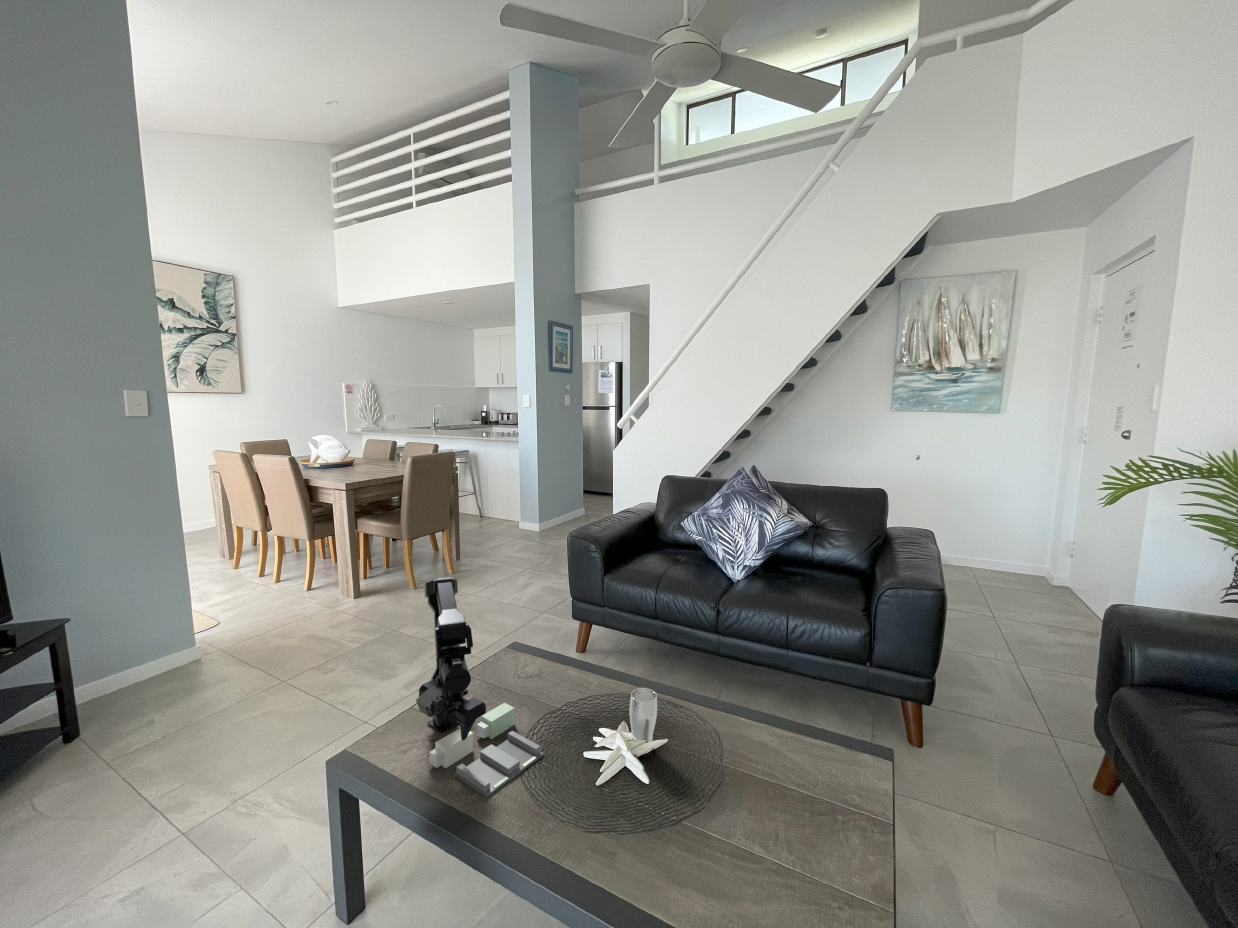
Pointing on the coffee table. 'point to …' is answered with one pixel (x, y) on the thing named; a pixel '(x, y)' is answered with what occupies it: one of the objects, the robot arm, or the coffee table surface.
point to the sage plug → (496, 721)
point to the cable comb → (499, 764)
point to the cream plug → (451, 749)
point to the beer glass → (643, 713)
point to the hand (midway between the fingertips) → (451, 731)
